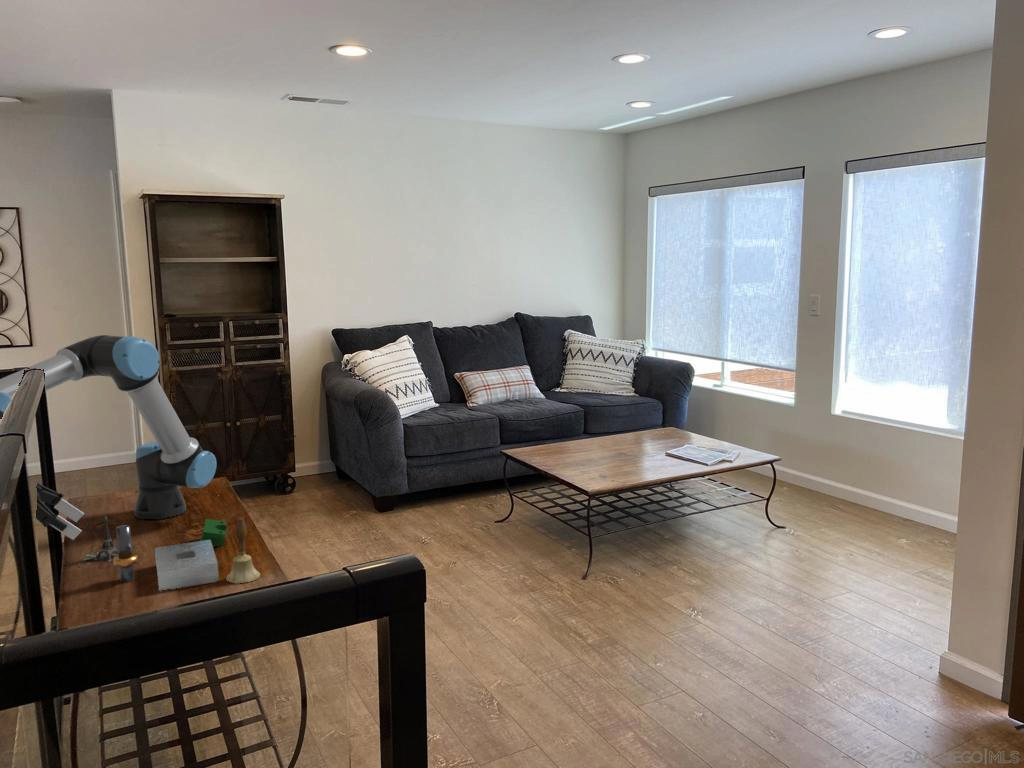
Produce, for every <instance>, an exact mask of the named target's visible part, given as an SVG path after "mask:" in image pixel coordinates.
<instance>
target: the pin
mask: <svg viewBox="0 0 1024 768" xmlns="http://www.w3.org/2000/svg"><path fill="white" fill-rule="evenodd" d="M115 531H116V532H115V533H116V534H115V535H116V542H117V543H116V544H117V546H116V547H117V549H118V555H117V556H115V557H114V558H113V560H112V561H113V566H114V567H118V568H119V569H118V570H119V579H120V580H119V581H120V583H122V582H127V583H132V582H133V581H134V580H135V571H134V569H135V568H134V565H135V564H137V563H138V562H139V559H138V558H139V557H138V556H139V555H138V553H136V552H133V549H132V547H133V546H132V545H133V544H132V537H131V536H132V535H131V525H129V524H122V525H117V526H116V527H115Z"/></svg>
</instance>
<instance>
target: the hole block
mask: <svg viewBox="0 0 1024 768" xmlns="http://www.w3.org/2000/svg"><path fill="white" fill-rule="evenodd" d="M154 552H155V553H154V555H155V565H156V576H157V577H158V578H157V585H158V586H159V587H158V592H159V591H160V592H162V591H161V590H166V591H168V590H167V589H171V590H176V588H177V589H183V588H188V587H189V588H190V587H194V586H200V585H206V584H210V583H212V584H213V583H217V581H218V582H220V580H219V579H220V578H219V576H220V575H219V565H218V564H219V563H218V560H217V556H216V553H215V550H214V545H212V543H211V540H204V541H201V540H199V541H192V542H186V543H178V544H170V545H166V546H158V547H154ZM182 587H183V588H182Z"/></svg>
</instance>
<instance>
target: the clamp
mask: <svg viewBox="0 0 1024 768" xmlns="http://www.w3.org/2000/svg"><path fill="white" fill-rule="evenodd" d="M227 527H228V526H227V522H226V521H223V520H217V519H216V520H215V519H208V518H205V521H204V525H203V530H202V534H201V539H200V541H204V540H211V543H212V546H213V547H214V546H215V547H224V542H225V538H226V535H227Z"/></svg>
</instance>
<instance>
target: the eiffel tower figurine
mask: <svg viewBox="0 0 1024 768" xmlns="http://www.w3.org/2000/svg"><path fill="white" fill-rule="evenodd" d="M104 514H105V515H104V517H103V519H104V539H103V543H102V546H101V548H99V549H100V550H99V551H95V552H91V553H88V554H86V555H84V556H83V557H82V560H84V561H87V560H93V561H94V560H95V561H100V562H101V561H102V562H108V563H110V562H112V561H113V558H114V557H115V556H117V555H118V547H117V546H116V545H115V544H114V543H113V541H112V538H111V534H110V529H109V524H108V517H107V515H106V513H104ZM134 547H138V548H139V546H138V545H135V546H134V545H133V546H132V550H135V549H136V548H134ZM106 555H107V556H106ZM83 565H84V563H83V562H78V568H83Z"/></svg>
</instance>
